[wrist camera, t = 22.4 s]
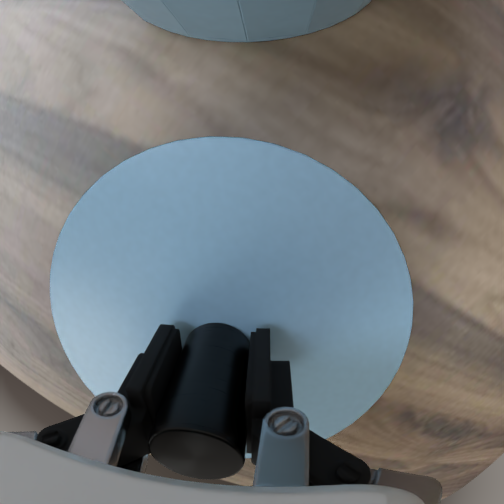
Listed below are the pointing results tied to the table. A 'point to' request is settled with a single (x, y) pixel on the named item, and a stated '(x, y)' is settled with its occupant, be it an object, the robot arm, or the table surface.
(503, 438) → the table surface
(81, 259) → the lid
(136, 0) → the pot
